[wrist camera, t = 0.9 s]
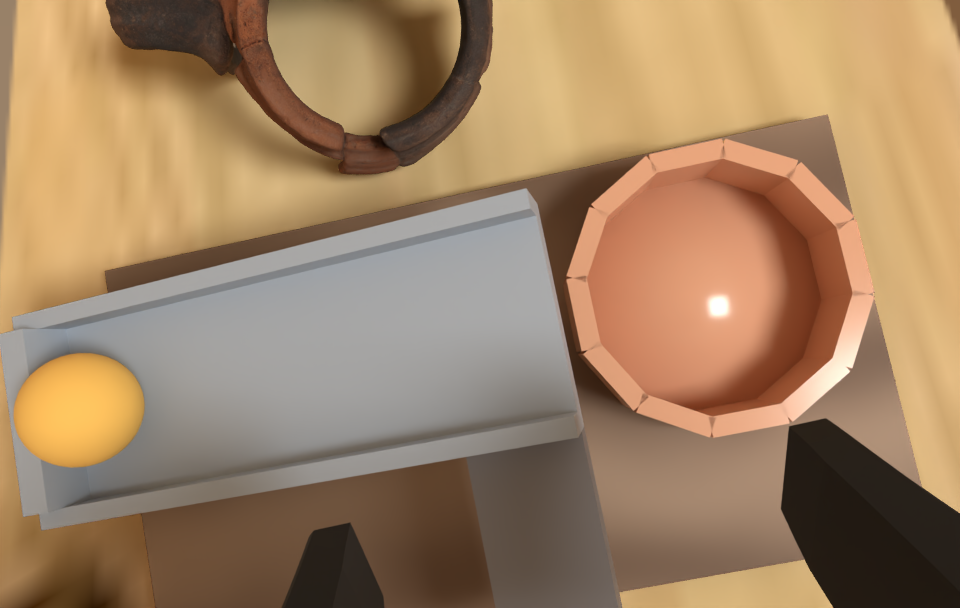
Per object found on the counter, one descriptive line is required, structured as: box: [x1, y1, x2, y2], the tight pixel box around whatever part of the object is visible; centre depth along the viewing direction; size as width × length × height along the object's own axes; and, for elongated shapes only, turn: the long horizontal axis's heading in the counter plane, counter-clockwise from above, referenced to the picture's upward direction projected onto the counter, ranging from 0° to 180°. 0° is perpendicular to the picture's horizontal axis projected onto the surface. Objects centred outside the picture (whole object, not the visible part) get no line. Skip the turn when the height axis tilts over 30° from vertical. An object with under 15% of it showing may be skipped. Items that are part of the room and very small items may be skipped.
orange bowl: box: [563, 139, 875, 438], centre depth 22 cm, size 9×9×3 cm
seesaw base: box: [105, 115, 922, 608], centre depth 22 cm, size 14×26×4 cm, turn 101°
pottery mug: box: [106, 0, 493, 174], centre depth 23 cm, size 12×10×8 cm
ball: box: [13, 353, 145, 468], centre depth 18 cm, size 3×3×3 cm
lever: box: [0, 188, 622, 608], centre depth 19 cm, size 13×15×4 cm
